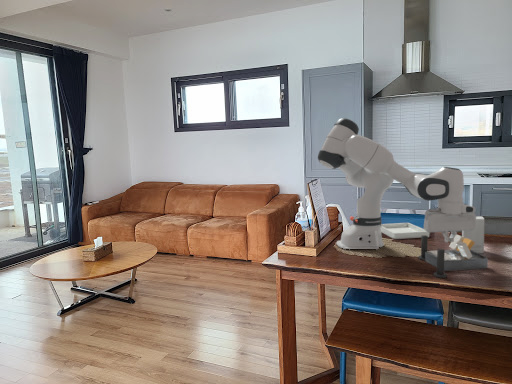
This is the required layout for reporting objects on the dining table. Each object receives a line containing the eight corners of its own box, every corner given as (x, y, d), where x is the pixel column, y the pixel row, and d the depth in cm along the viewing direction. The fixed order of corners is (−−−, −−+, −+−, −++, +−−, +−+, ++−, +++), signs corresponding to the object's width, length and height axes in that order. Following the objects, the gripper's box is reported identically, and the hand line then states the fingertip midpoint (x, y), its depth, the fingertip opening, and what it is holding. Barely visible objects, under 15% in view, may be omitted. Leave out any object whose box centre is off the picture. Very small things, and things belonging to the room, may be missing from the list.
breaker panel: (443, 271, 141) (443, 259, 140) (424, 260, 154) (425, 250, 153) (487, 268, 143) (487, 256, 142) (465, 258, 155) (465, 247, 155)
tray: (394, 239, 189) (394, 233, 189) (376, 229, 211) (376, 224, 211) (429, 237, 191) (429, 231, 190) (408, 227, 213) (408, 222, 212)
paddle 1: (454, 249, 151) (461, 236, 150) (448, 246, 155) (455, 234, 154) (458, 251, 151) (465, 238, 150) (452, 248, 155) (459, 235, 154)
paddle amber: (462, 252, 146) (471, 240, 145) (456, 249, 150) (465, 237, 149) (466, 255, 146) (475, 242, 146) (459, 252, 150) (468, 240, 150)
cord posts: (435, 277, 134) (436, 251, 133) (417, 257, 159) (417, 234, 158) (448, 278, 134) (449, 251, 132) (427, 257, 158) (428, 234, 157)
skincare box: (482, 250, 166) (483, 216, 164) (484, 254, 160) (485, 219, 158) (460, 248, 169) (462, 215, 167) (462, 252, 163) (463, 218, 161)
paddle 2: (468, 258, 141) (462, 245, 140) (461, 255, 145) (455, 243, 144) (472, 256, 141) (466, 243, 140) (465, 253, 145) (459, 240, 144)
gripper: (429, 210, 141) (428, 245, 143) (479, 207, 143) (477, 242, 145) (420, 207, 147) (420, 241, 149) (468, 205, 149) (467, 238, 151)
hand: (449, 241), depth 147 cm, fingers closed
